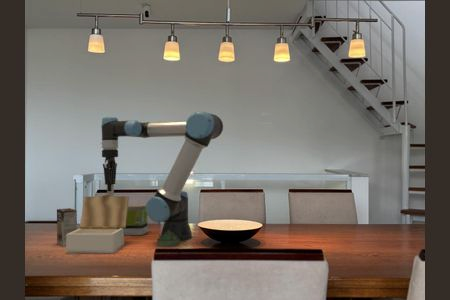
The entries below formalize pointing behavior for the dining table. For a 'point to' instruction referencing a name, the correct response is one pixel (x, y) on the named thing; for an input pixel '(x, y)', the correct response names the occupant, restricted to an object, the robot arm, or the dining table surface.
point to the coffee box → (65, 224)
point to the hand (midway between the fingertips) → (110, 197)
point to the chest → (94, 241)
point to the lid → (104, 212)
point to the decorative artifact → (168, 240)
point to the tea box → (136, 220)
